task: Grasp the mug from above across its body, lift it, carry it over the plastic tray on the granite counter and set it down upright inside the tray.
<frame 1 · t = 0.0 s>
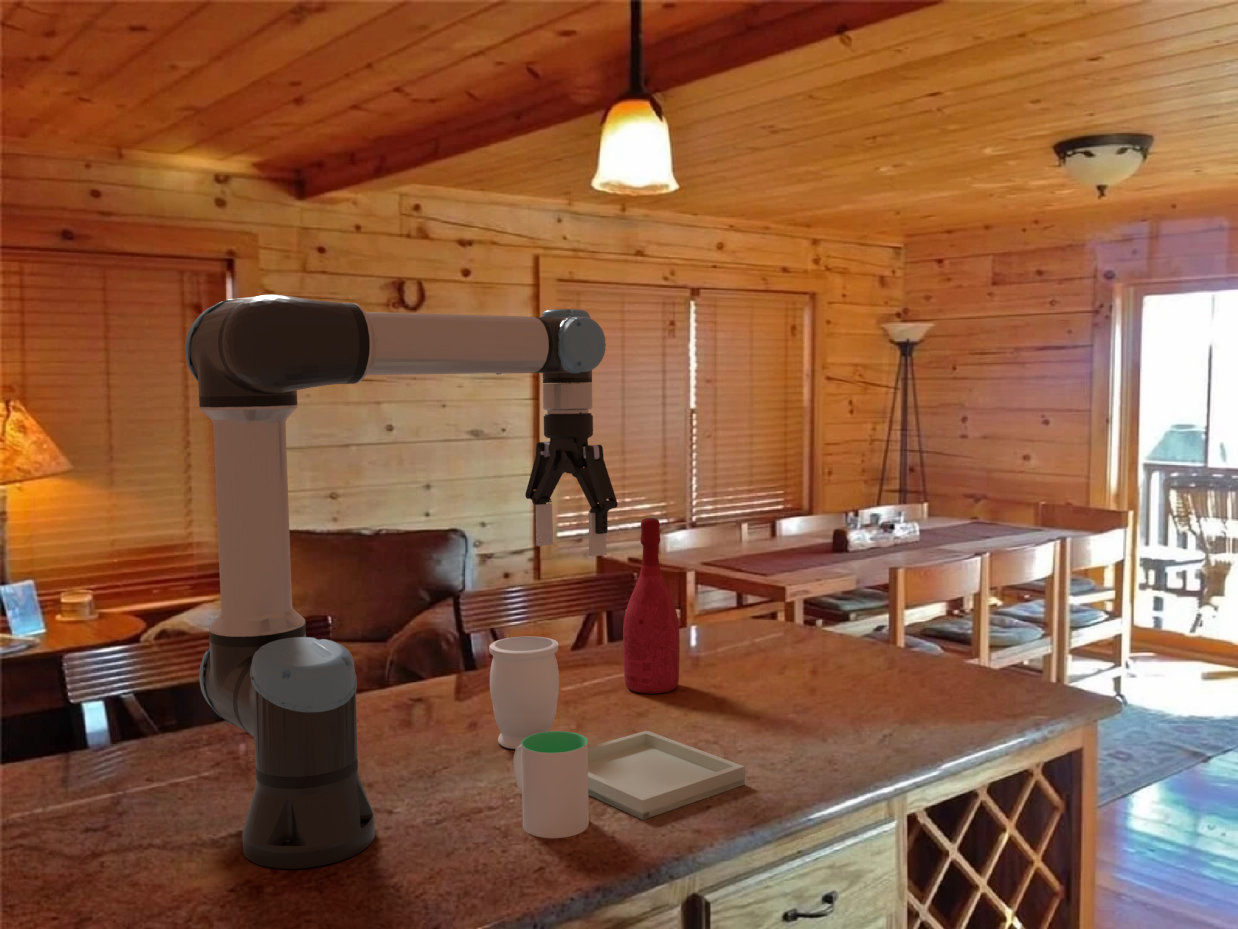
hand: (570, 550, 171), 28 cm above the kitchen island, fingers open, 13 cm apart
wine bottle: (651, 688, 195), on the kitchen island
mug: (545, 821, 138), on the kitchen island
tray: (645, 780, 151), on the kitchen island
jar: (525, 743, 168), on the kitchen island
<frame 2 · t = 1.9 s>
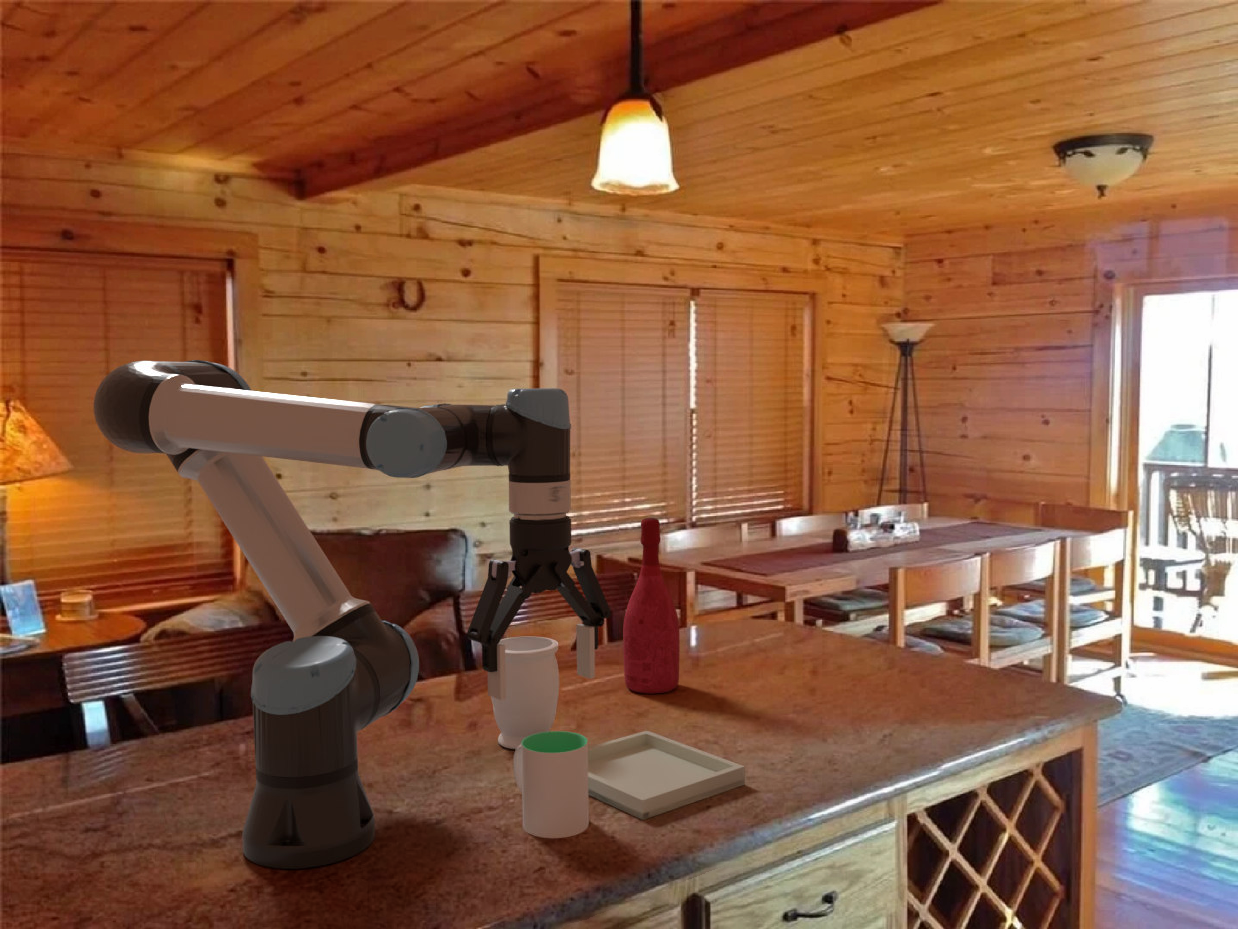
hand: (542, 686, 137), 17 cm above the kitchen island, fingers open, 13 cm apart
nothing on the kitchen island moved.
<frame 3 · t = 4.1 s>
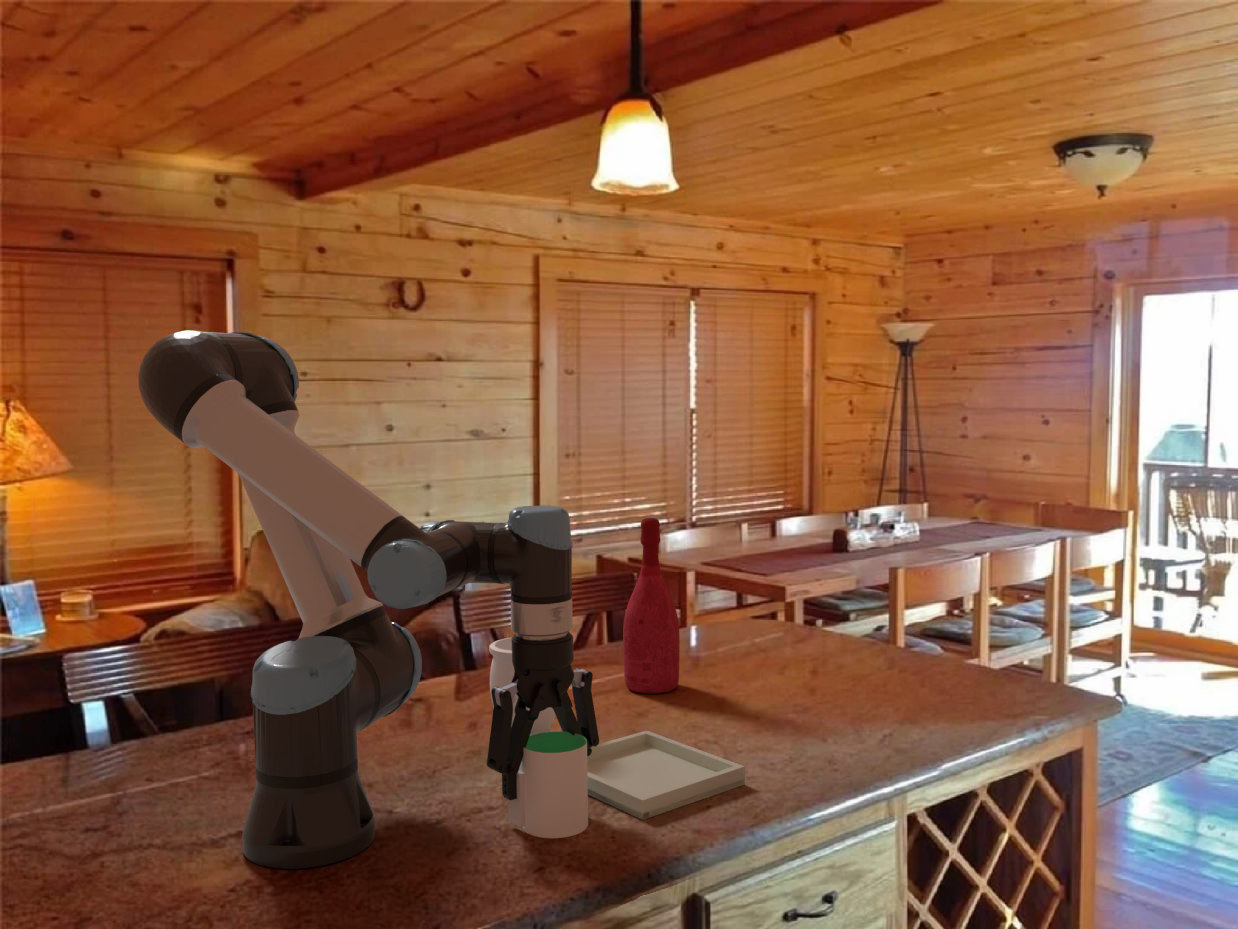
hand: (545, 813, 138), 1 cm above the kitchen island, fingers closed on mug, 8 cm apart
mug: (544, 821, 138), on the kitchen island, touching gripper
everything else where it was.
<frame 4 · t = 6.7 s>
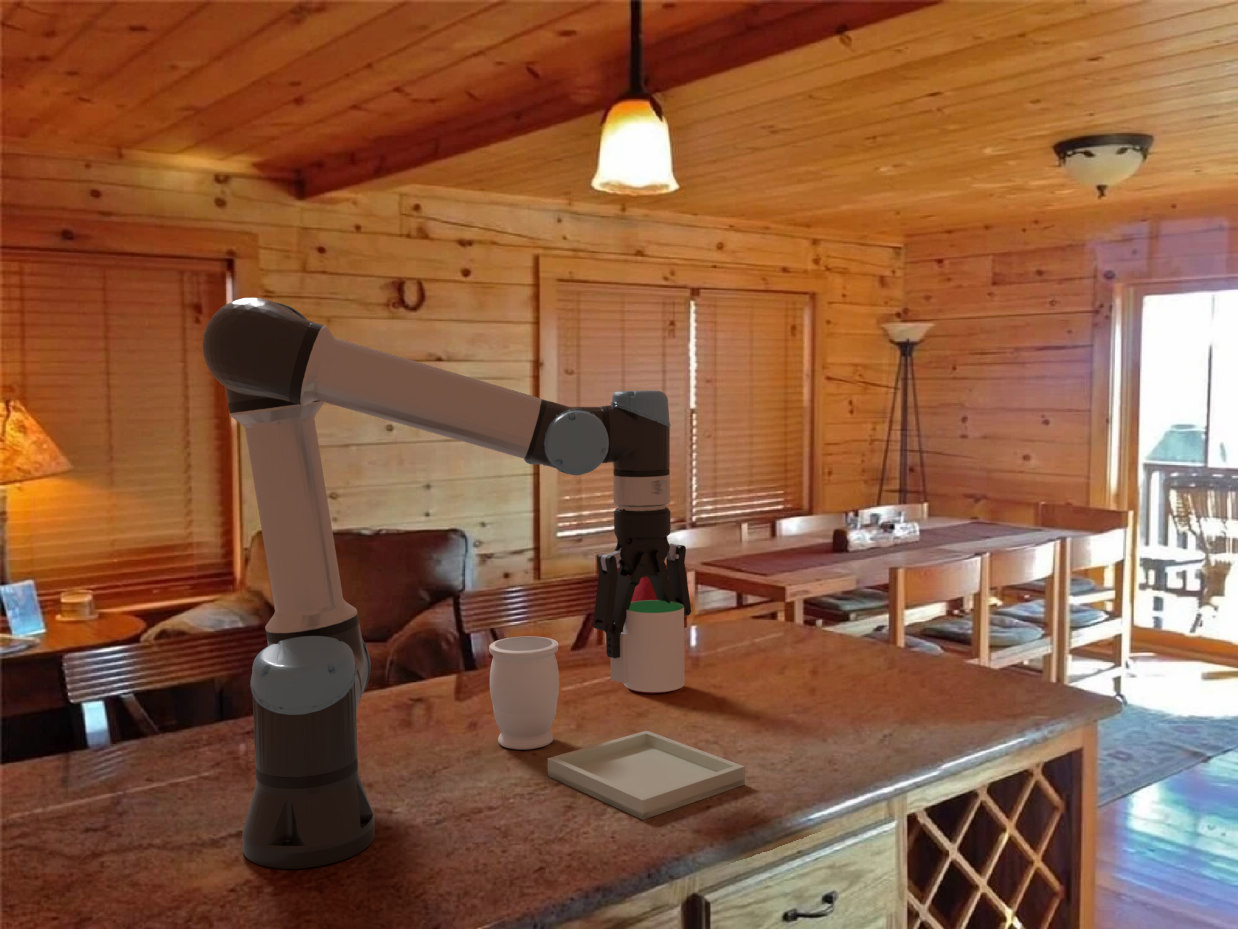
hand: (644, 674, 150), 15 cm above the kitchen island, fingers closed on mug, 8 cm apart
mug: (643, 682, 150), point 14 cm above the kitchen island, touching gripper
everything else where it was.
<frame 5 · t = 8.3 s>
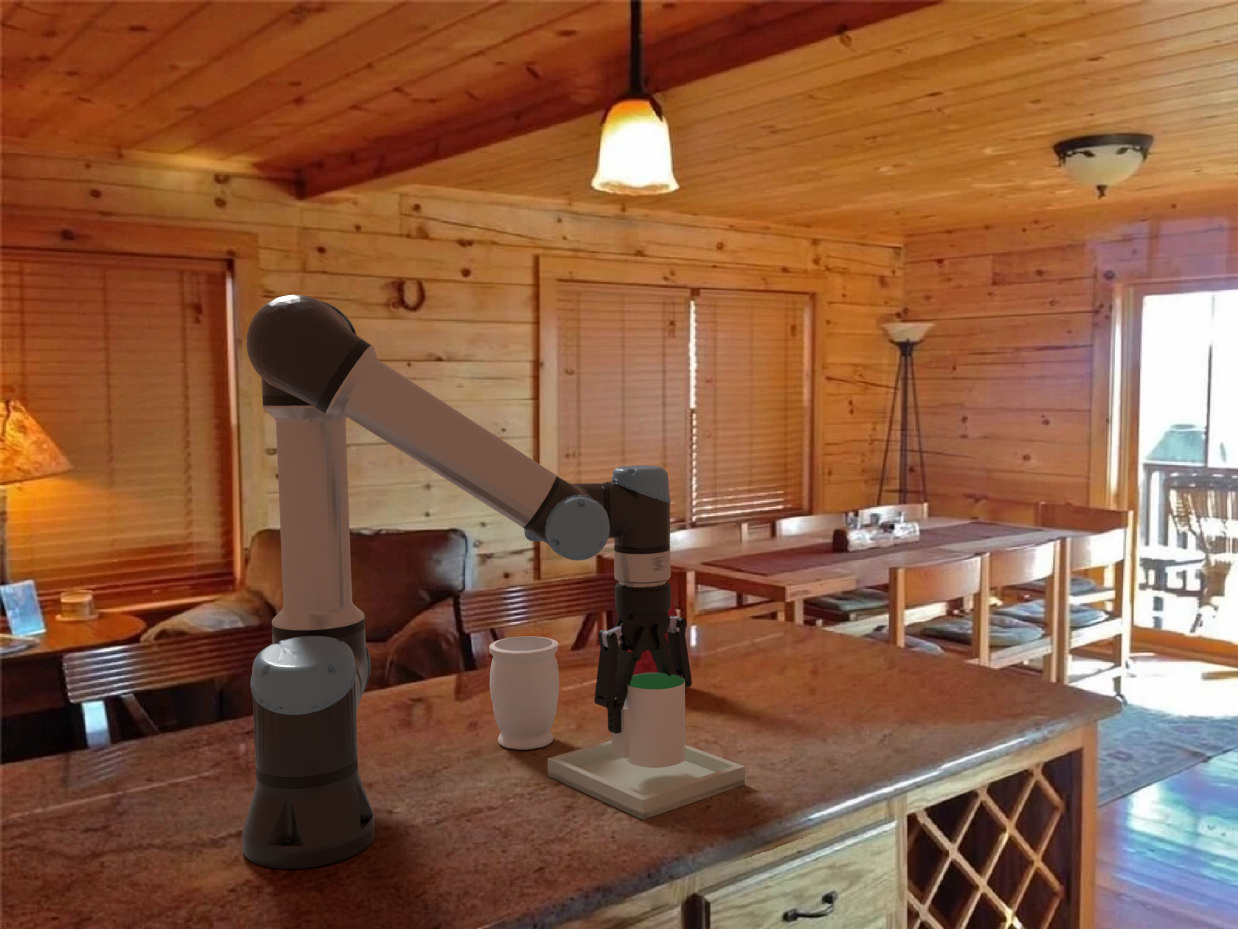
hand: (645, 747, 151), 5 cm above the kitchen island, fingers closed on mug, 8 cm apart
mug: (644, 755, 150), point 4 cm above the kitchen island, touching gripper
everything else where it was.
when the fingers open (3 cm above the kitchen island, at t = 9.5 s): mug drops 2 cm, resting on tray.
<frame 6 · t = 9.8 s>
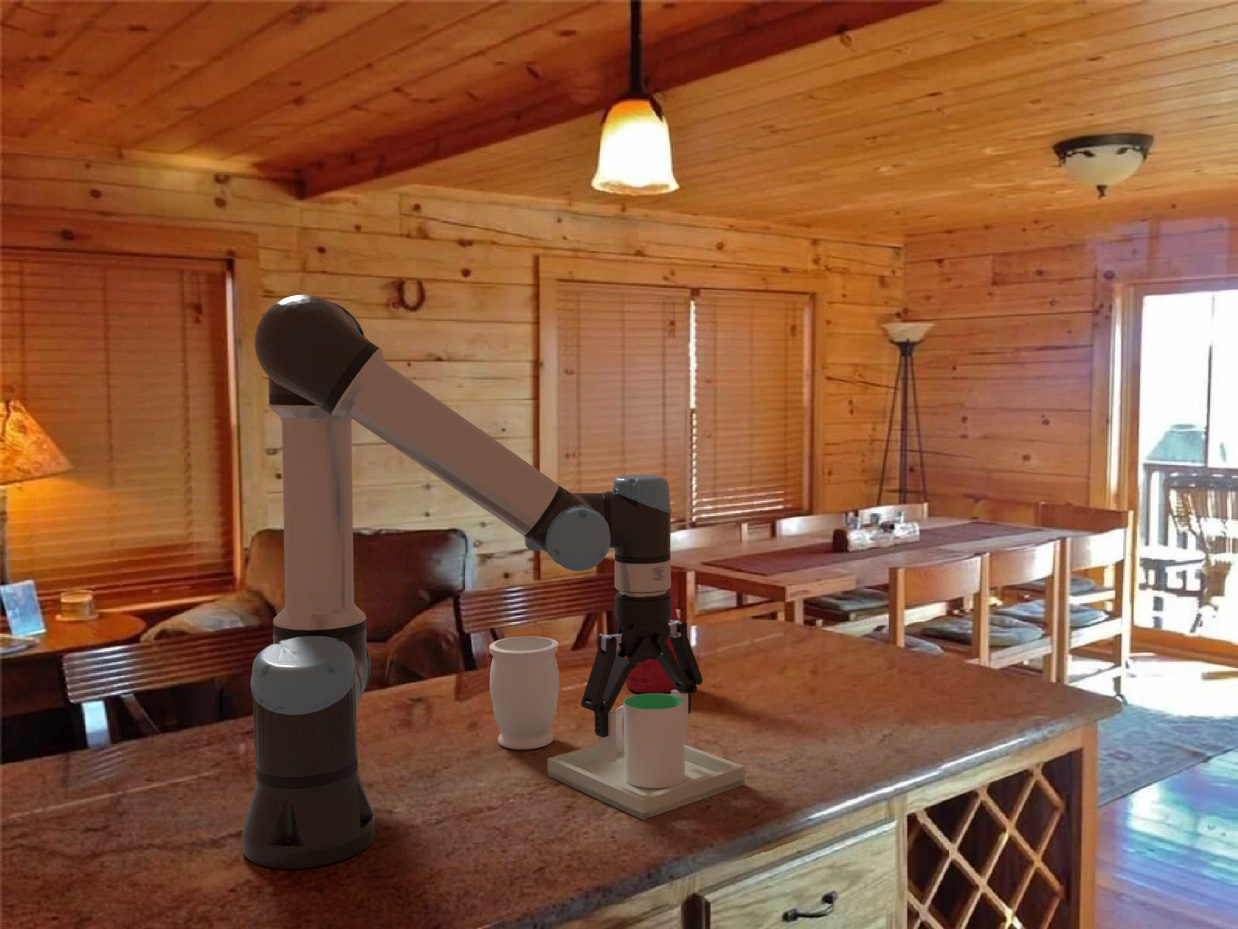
hand: (644, 748, 151), 4 cm above the kitchen island, fingers open, 12 cm apart
mug: (644, 776, 151), point 1 cm above the kitchen island, touching tray
everything else where it was.
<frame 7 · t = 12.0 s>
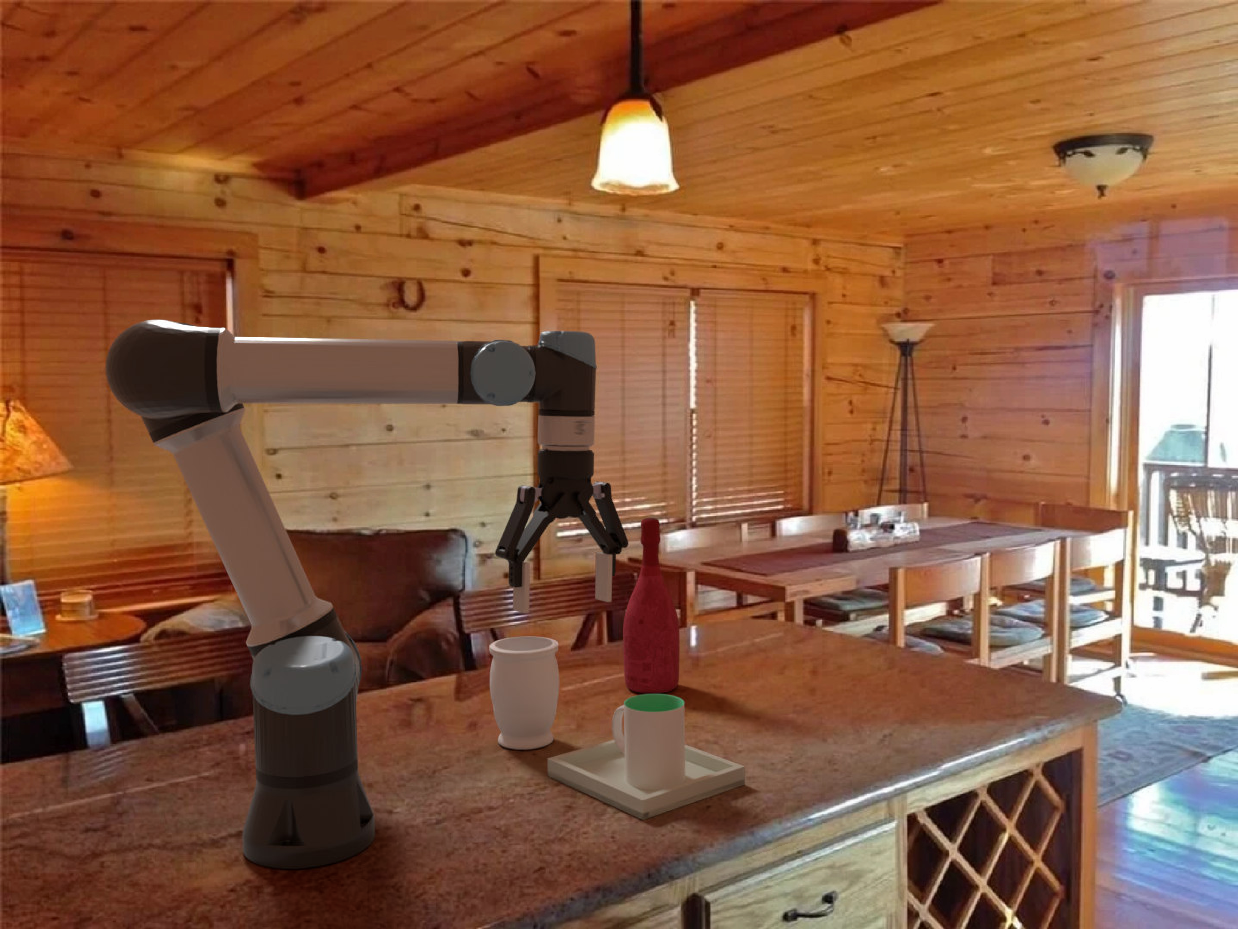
hand: (563, 605, 150), 24 cm above the kitchen island, fingers open, 13 cm apart
nothing on the kitchen island moved.
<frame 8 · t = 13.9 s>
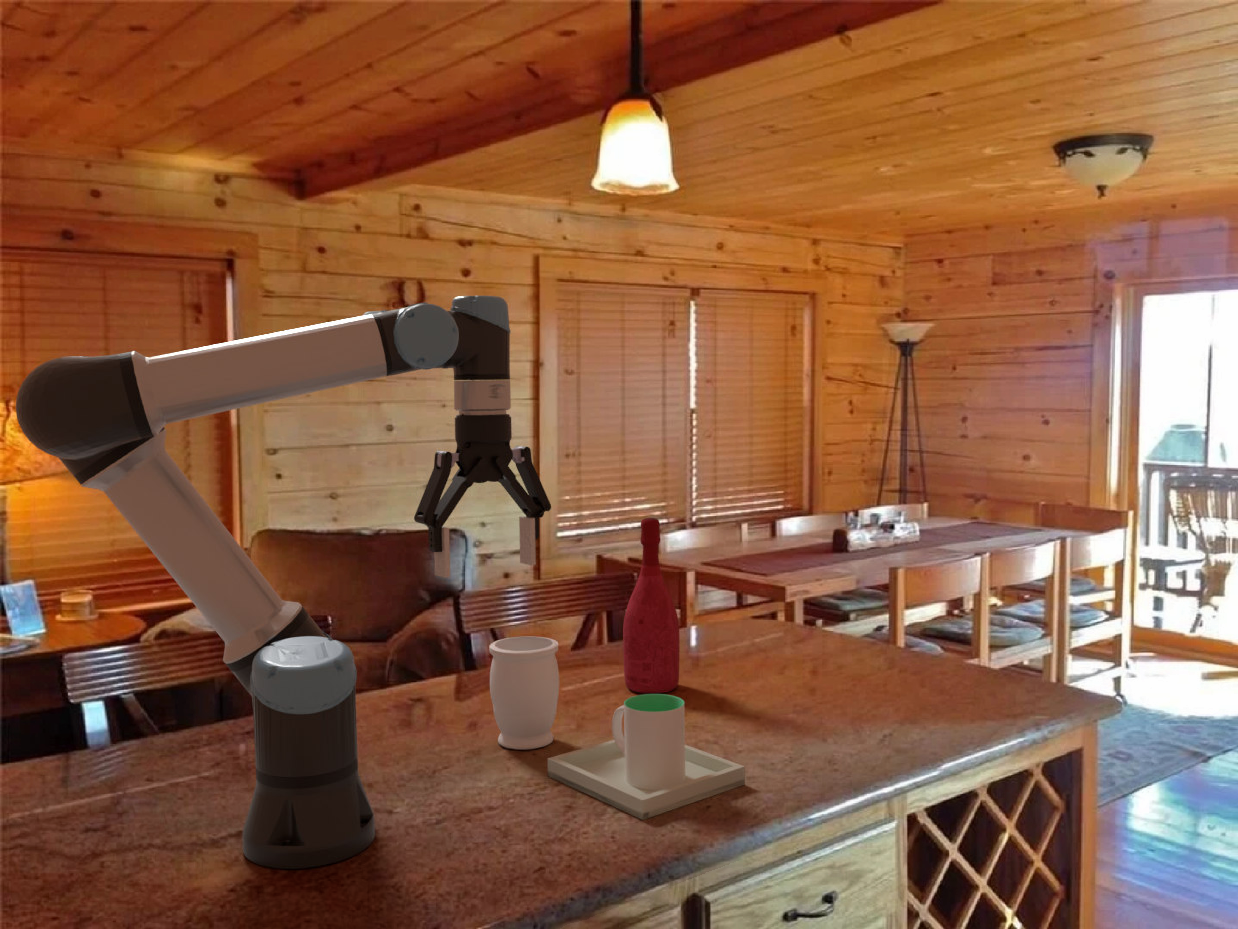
hand: (486, 570, 151), 29 cm above the kitchen island, fingers open, 13 cm apart
nothing on the kitchen island moved.
at the end: mug inside the target area on the tray (0.2 cm from its centre), point 0.6 cm above the tray's base; mug tilted 0°; the gripper is holding nothing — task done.
